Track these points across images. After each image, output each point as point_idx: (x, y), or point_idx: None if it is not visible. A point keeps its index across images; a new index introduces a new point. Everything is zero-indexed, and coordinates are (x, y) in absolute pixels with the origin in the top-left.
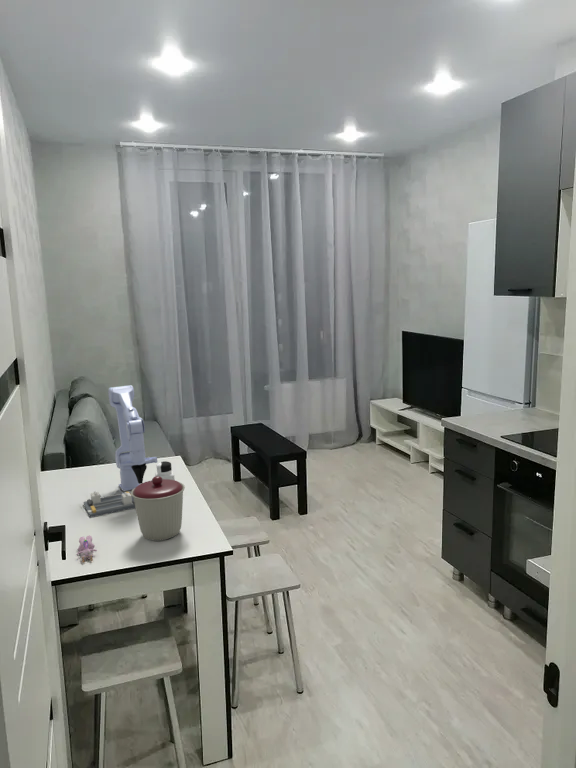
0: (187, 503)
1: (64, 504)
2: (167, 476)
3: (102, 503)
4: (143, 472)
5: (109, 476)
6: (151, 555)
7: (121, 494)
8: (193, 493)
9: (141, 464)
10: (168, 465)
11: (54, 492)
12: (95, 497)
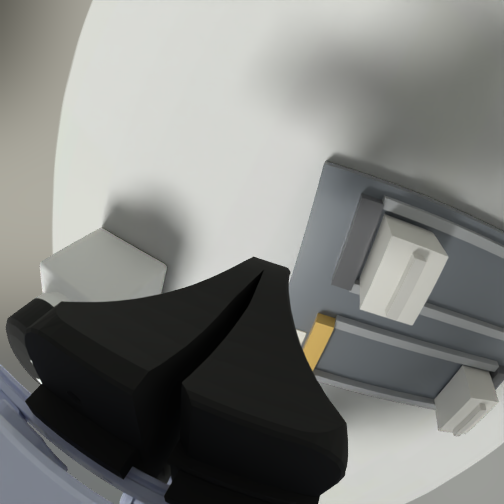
0: (121, 29)
1: (480, 438)
2: (64, 280)
3: (465, 353)
4: (164, 304)
5: None
6: None
7: (414, 321)
8: (61, 140)
9: (4, 431)
10: (11, 318)
11: (410, 495)
12: (486, 393)
